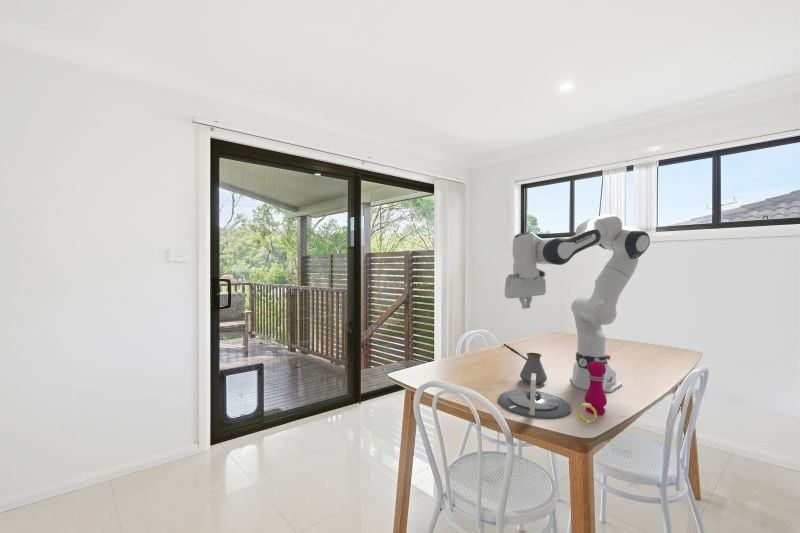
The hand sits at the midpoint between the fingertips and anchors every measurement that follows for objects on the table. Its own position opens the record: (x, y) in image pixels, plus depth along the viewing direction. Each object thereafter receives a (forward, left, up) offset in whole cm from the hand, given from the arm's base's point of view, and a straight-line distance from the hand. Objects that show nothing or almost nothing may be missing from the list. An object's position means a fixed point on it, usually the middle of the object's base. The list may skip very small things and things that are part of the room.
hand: (526, 308), depth 151 cm
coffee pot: (-18, -16, -36) cm, 44 cm away
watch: (-2, +25, -36) cm, 44 cm away
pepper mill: (-12, +22, -36) cm, 44 cm away
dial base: (+2, +6, -36) cm, 37 cm away
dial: (+5, +9, -35) cm, 36 cm away
